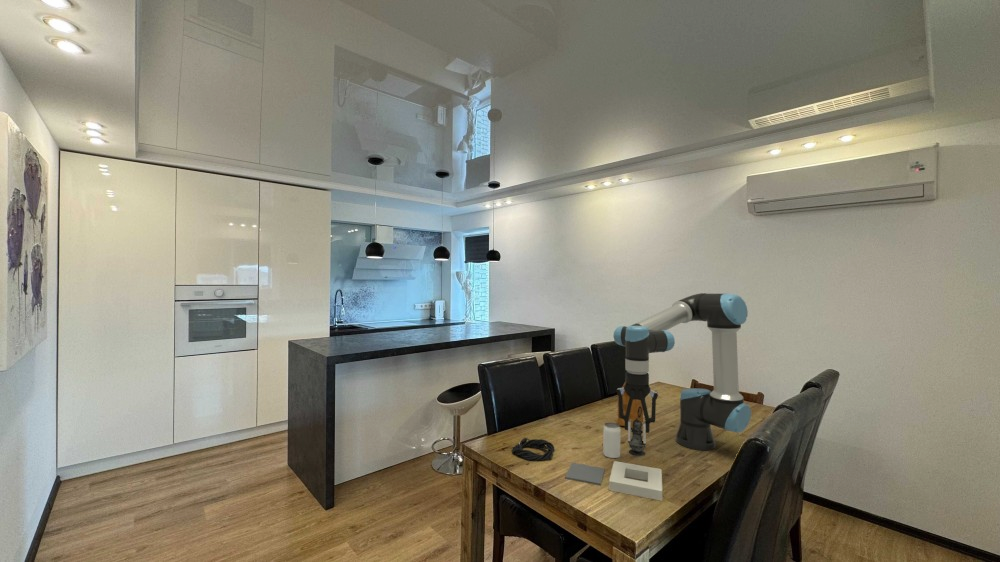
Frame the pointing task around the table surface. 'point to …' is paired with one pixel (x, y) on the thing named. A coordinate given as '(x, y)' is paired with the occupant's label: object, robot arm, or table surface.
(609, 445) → the can
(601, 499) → the table surface
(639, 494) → the white square tray
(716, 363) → the robot arm
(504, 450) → the table surface
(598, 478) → the rubber mat
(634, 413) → the coffee package
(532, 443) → the cable
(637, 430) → the grey statuette
